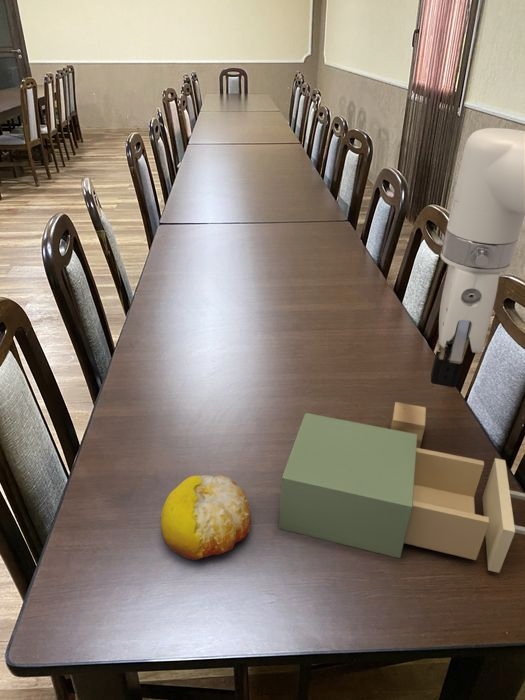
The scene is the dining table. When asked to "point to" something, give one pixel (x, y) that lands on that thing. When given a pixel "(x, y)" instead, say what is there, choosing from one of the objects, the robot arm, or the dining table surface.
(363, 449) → the cabinet
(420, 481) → the drawer
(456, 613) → the dining table surface
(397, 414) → the block
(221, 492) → the fruit
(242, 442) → the dining table surface
